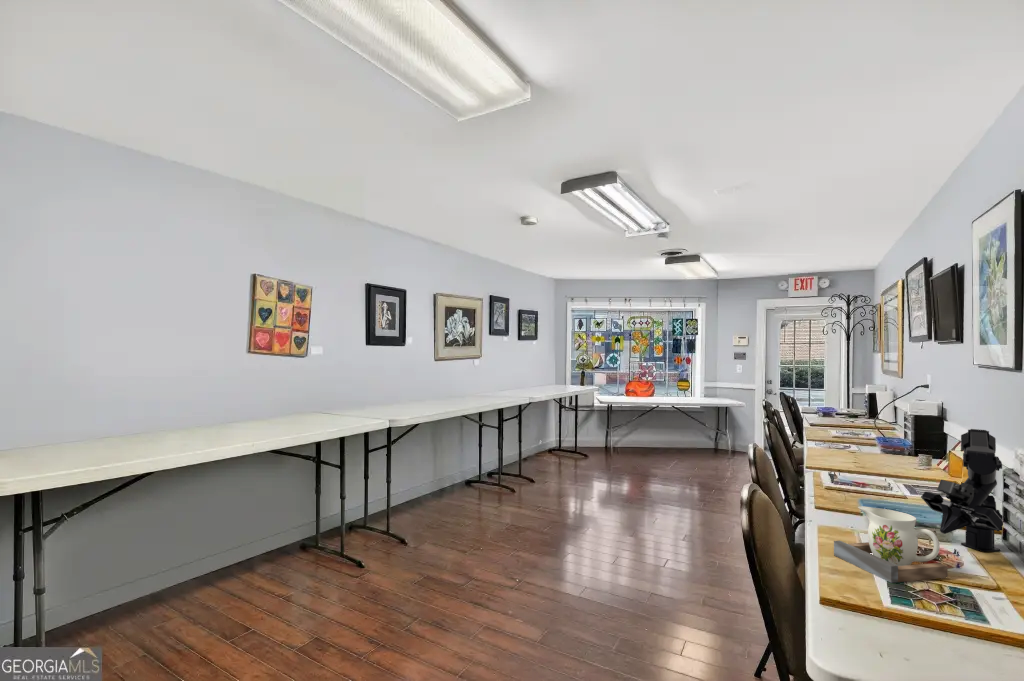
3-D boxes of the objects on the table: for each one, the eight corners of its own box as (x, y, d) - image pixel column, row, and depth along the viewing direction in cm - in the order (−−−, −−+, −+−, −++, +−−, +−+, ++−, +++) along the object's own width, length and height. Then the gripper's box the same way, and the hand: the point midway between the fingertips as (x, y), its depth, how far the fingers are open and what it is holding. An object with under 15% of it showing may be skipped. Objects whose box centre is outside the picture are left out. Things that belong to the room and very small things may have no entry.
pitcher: (935, 581, 133) (935, 526, 133) (852, 560, 146) (852, 510, 146) (943, 569, 140) (942, 517, 141) (863, 550, 153) (863, 502, 154)
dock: (885, 551, 153) (885, 537, 153) (947, 577, 135) (947, 562, 135) (833, 555, 150) (833, 540, 150) (891, 582, 132) (891, 566, 132)
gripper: (925, 463, 157) (894, 502, 155) (994, 478, 138) (959, 523, 136) (948, 489, 158) (917, 528, 156) (1018, 507, 140) (984, 552, 137)
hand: (942, 532), depth 146 cm, fingers closed
